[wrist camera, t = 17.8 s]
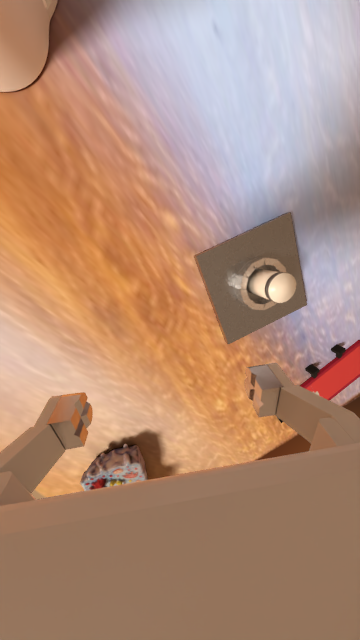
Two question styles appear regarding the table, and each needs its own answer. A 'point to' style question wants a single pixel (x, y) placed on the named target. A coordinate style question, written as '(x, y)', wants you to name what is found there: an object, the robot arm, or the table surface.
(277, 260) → the ring mount
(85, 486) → the cell model
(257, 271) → the banded peg cylinder
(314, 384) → the red board with handle
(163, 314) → the table surface
